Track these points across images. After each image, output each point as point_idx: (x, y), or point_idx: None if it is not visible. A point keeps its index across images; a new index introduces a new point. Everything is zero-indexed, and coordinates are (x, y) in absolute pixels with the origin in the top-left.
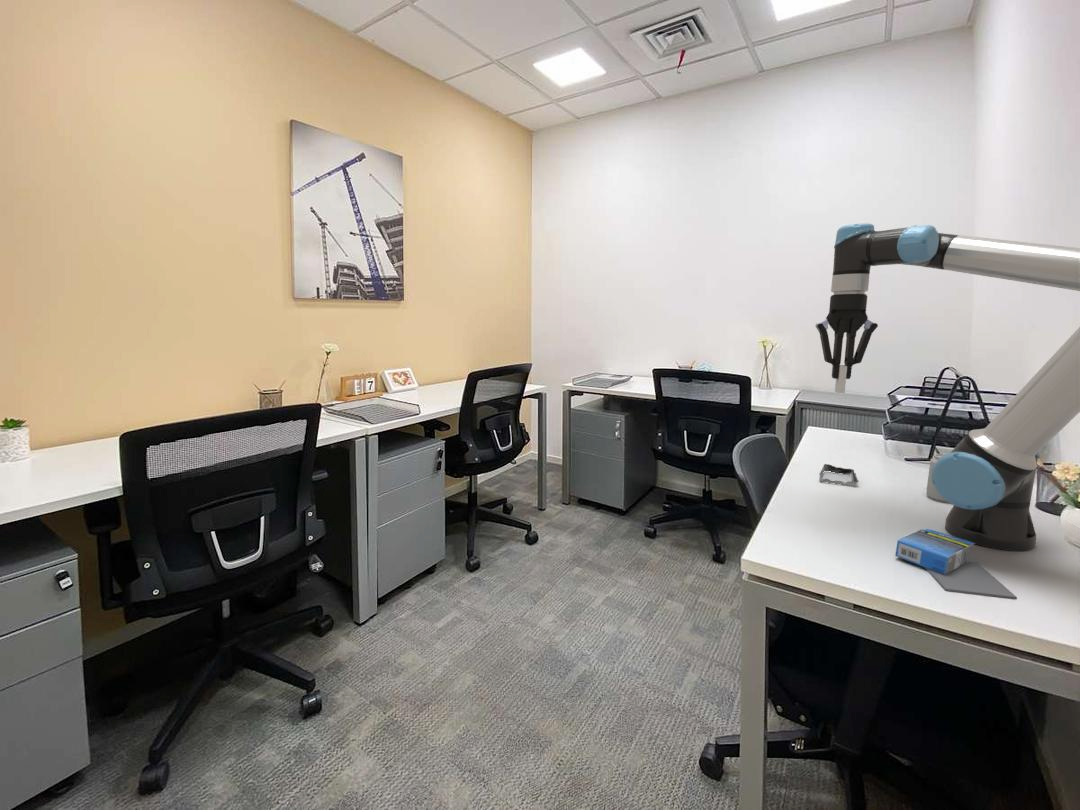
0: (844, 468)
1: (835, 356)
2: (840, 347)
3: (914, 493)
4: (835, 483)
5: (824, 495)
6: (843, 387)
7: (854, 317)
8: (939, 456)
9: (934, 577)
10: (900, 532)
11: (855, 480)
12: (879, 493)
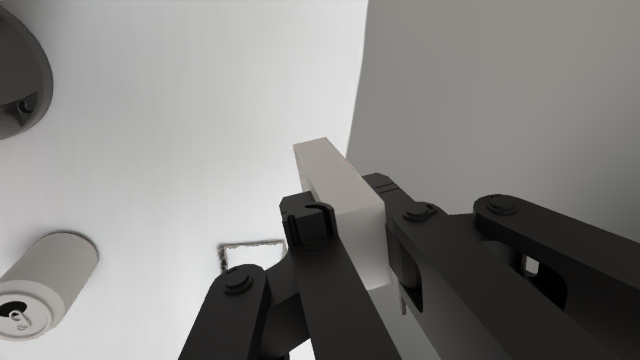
0: None
1: (482, 246)
2: (527, 344)
3: (120, 261)
4: (257, 244)
5: (274, 169)
6: (306, 153)
7: None
8: (40, 321)
9: None
10: (133, 9)
11: (223, 254)
12: (180, 229)
